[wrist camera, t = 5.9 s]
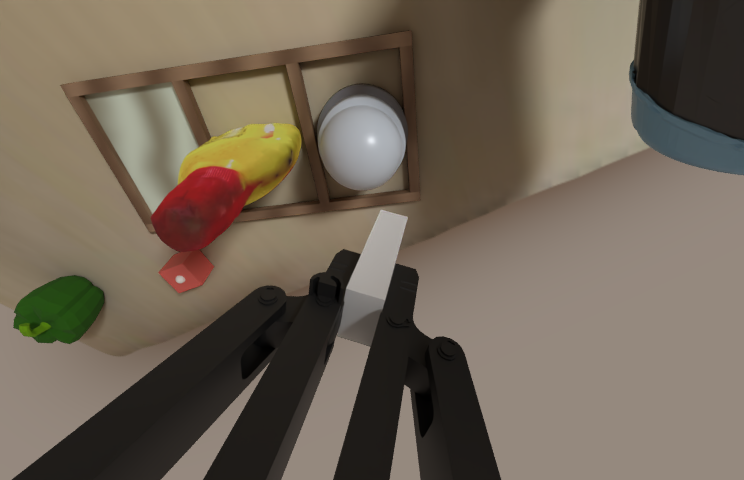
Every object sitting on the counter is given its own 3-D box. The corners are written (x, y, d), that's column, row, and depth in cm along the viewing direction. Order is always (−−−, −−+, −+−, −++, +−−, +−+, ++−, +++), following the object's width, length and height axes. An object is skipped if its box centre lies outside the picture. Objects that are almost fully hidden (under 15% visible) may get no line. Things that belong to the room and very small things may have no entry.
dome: (399, 87, 32) (407, 103, 25) (405, 170, 37) (413, 202, 30) (313, 99, 33) (298, 118, 26) (330, 180, 38) (322, 213, 31)
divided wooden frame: (410, 30, 31) (412, 30, 30) (419, 196, 41) (421, 202, 40) (67, 83, 34) (55, 85, 32) (153, 228, 44) (147, 234, 42)
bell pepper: (109, 315, 53) (61, 369, 45) (52, 295, 50) (-10, 348, 42) (119, 282, 49) (67, 335, 41) (58, 259, 47) (-11, 309, 38)
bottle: (298, 103, 35) (232, 173, 18) (318, 158, 38) (279, 259, 22) (200, 132, 37) (58, 221, 20) (228, 182, 40) (127, 294, 23)
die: (196, 246, 45) (180, 266, 41) (214, 266, 47) (200, 287, 44) (173, 254, 46) (155, 275, 42) (192, 274, 48) (176, 296, 44)
